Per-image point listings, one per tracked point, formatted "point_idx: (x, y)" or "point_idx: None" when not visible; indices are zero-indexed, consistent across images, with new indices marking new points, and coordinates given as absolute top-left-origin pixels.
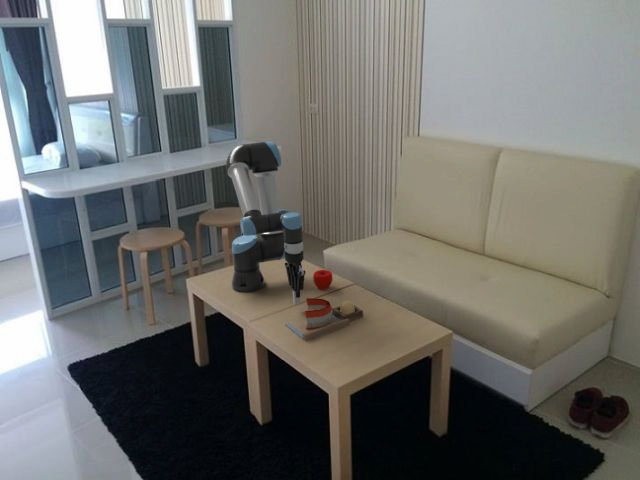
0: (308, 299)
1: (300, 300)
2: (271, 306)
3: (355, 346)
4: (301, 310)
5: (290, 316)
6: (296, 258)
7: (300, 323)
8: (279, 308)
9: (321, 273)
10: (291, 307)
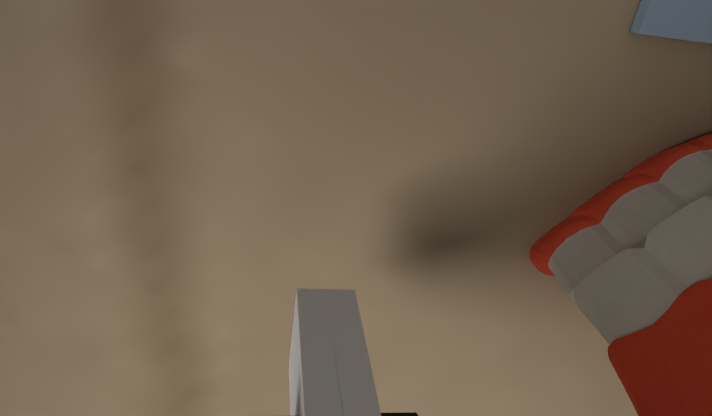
0: (665, 404)
1: (360, 320)
2: (3, 409)
3: None
4: (349, 221)
5: (376, 374)
6: None
7: (568, 373)
8: (114, 372)
9: None
10: (183, 266)
